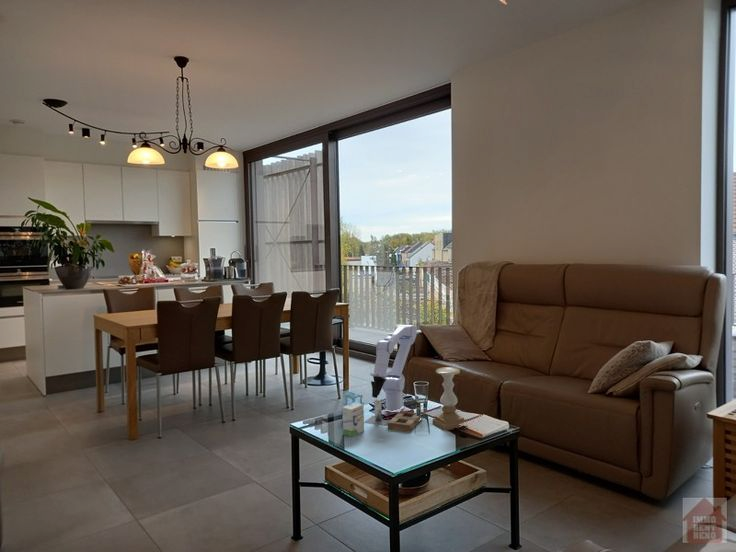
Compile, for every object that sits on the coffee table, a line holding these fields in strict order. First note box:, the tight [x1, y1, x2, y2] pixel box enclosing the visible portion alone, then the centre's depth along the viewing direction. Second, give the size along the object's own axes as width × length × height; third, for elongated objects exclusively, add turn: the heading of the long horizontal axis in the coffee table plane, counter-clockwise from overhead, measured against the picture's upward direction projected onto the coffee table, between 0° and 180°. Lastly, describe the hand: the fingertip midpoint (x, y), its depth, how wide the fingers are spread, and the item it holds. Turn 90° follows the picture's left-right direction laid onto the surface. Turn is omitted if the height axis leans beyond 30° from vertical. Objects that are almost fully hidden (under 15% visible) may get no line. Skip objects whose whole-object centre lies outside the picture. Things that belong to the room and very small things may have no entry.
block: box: [386, 410, 420, 433], centre depth 230 cm, size 16×10×3 cm, turn 156°
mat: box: [364, 415, 390, 426], centre depth 236 cm, size 10×10×1 cm
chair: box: [341, 391, 365, 419], centre depth 241 cm, size 8×8×12 cm
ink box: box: [342, 403, 365, 438], centre depth 222 cm, size 9×5×12 cm, turn 143°
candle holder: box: [432, 366, 467, 431], centre depth 227 cm, size 11×11×24 cm
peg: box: [374, 398, 383, 421], centre depth 236 cm, size 3×3×9 cm
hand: (375, 395), depth 233 cm, fingers open, 7 cm apart
